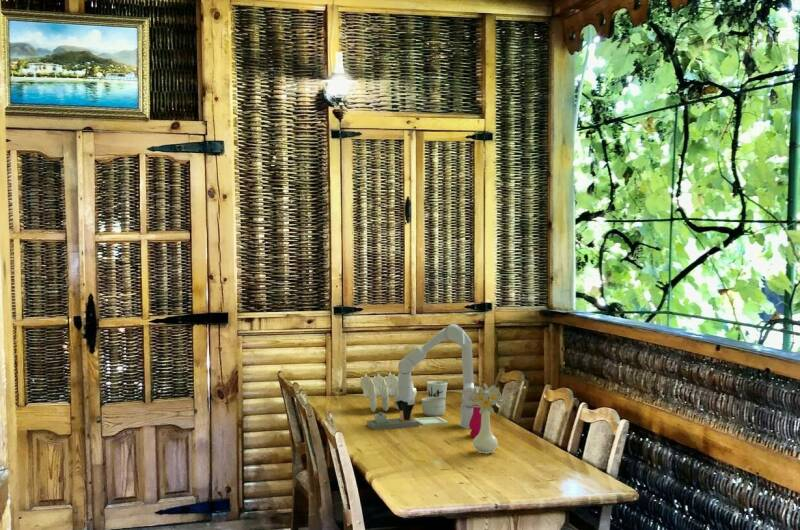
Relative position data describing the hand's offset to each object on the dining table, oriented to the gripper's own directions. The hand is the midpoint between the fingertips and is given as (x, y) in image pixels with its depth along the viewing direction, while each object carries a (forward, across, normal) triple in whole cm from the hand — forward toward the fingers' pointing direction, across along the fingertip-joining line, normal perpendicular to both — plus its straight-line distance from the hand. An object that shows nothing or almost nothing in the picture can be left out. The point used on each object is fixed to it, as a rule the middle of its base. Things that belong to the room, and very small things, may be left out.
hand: (405, 418), depth 365 cm
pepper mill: (+3, +28, +22) cm, 35 cm away
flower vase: (+3, +54, +14) cm, 56 cm away
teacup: (+3, -17, +20) cm, 27 cm away
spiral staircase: (+3, -34, +4) cm, 34 cm away
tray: (+3, -2, +12) cm, 13 cm away
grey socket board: (+3, 0, -6) cm, 6 cm away
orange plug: (+2, 0, 0) cm, 2 cm away
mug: (+3, -47, +34) cm, 58 cm away
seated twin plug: (+3, 0, -11) cm, 11 cm away
